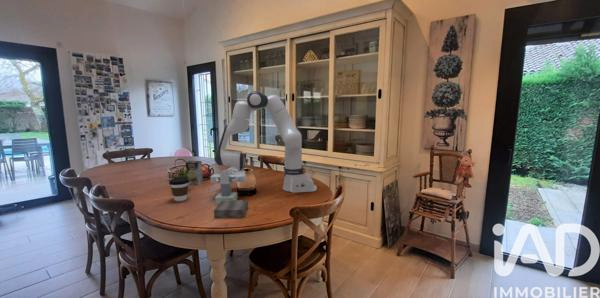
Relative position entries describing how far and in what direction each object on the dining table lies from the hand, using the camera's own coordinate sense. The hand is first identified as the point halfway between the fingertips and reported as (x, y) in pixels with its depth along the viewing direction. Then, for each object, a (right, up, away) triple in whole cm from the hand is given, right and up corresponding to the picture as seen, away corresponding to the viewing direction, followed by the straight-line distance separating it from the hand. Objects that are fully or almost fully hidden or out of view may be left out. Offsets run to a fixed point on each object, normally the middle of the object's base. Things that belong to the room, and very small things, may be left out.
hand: (225, 181), depth 157 cm
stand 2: (+7, -14, -14) cm, 21 cm away
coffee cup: (-28, -12, +6) cm, 31 cm away
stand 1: (0, -12, +3) cm, 12 cm away
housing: (0, -8, +2) cm, 8 cm away
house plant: (-34, -9, +24) cm, 43 cm away
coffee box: (-32, -7, +40) cm, 52 cm away
